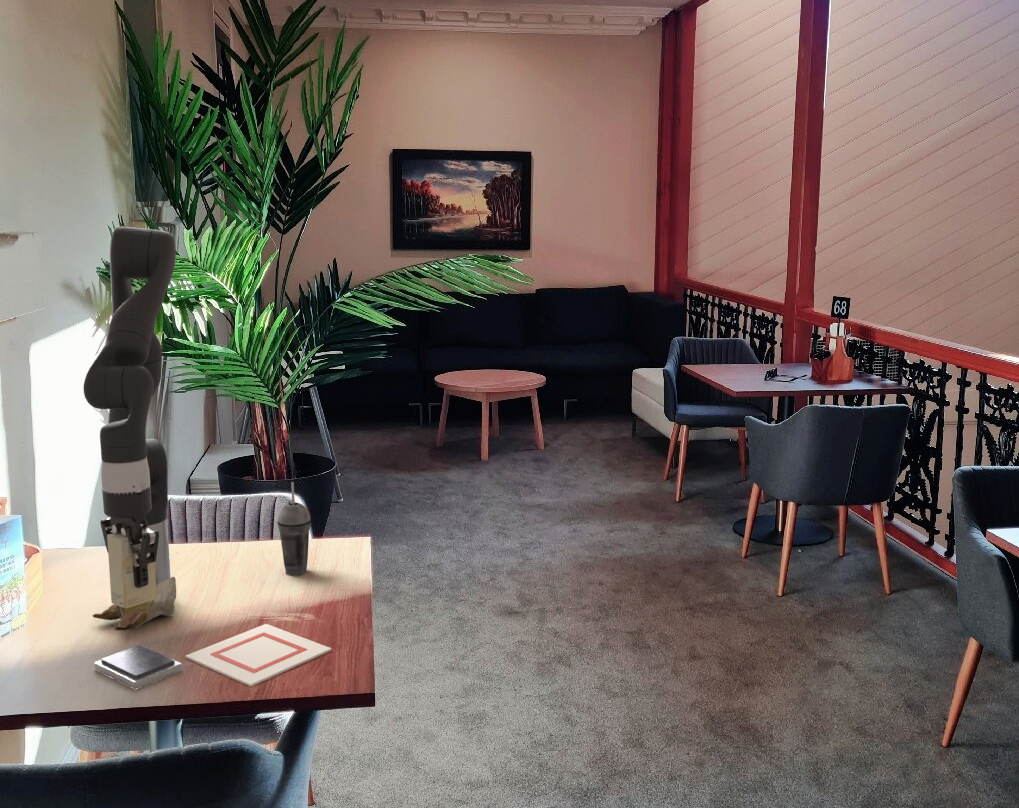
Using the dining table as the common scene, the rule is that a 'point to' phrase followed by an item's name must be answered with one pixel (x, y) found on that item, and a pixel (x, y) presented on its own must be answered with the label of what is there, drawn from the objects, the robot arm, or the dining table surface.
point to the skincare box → (127, 575)
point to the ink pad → (138, 666)
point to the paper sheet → (258, 654)
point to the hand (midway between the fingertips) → (133, 582)
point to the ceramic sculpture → (143, 608)
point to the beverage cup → (294, 536)
